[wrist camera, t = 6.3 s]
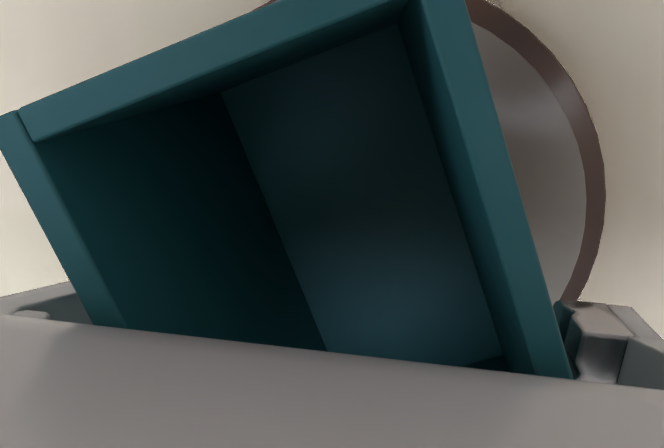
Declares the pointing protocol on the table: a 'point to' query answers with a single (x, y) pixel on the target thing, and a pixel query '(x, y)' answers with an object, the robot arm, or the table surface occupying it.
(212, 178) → the bin
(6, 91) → the table surface
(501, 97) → the disc
